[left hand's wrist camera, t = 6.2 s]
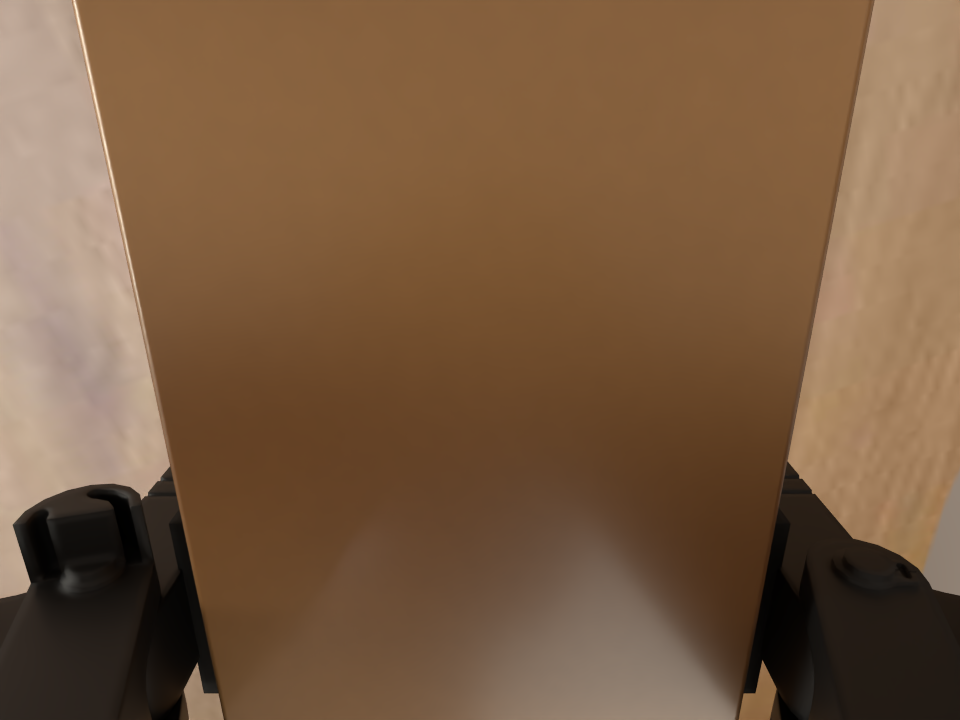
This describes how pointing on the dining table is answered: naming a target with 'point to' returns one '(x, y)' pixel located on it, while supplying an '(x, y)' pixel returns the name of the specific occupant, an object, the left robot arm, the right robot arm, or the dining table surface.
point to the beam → (476, 333)
